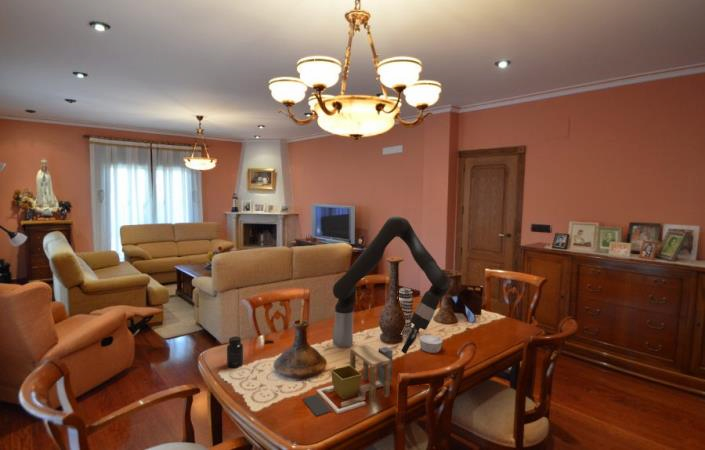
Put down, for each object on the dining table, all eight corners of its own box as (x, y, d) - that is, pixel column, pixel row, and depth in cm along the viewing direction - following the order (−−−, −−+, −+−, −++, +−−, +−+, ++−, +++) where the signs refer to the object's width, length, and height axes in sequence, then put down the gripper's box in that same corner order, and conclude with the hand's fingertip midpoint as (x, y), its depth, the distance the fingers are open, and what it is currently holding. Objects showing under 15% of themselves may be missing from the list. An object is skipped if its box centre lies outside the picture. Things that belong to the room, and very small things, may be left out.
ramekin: (442, 355, 179) (442, 344, 178) (418, 352, 181) (419, 342, 181) (441, 346, 190) (442, 336, 189) (419, 343, 192) (419, 333, 192)
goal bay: (342, 384, 149) (342, 382, 149) (365, 404, 135) (365, 402, 135) (316, 391, 143) (316, 389, 143) (337, 413, 129) (337, 411, 129)
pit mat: (316, 395, 141) (316, 394, 141) (331, 411, 130) (331, 410, 130) (302, 399, 138) (302, 398, 138) (316, 416, 127) (316, 415, 127)
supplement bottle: (226, 362, 166) (226, 336, 164) (242, 360, 168) (242, 334, 167) (227, 369, 159) (227, 342, 158) (243, 367, 162) (243, 340, 160)
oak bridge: (366, 378, 155) (367, 344, 153) (389, 396, 141) (390, 359, 140) (349, 382, 150) (350, 348, 149) (371, 402, 137) (372, 364, 136)
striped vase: (414, 332, 207) (416, 288, 205) (408, 337, 199) (410, 291, 197) (399, 329, 212) (400, 285, 210) (392, 334, 204) (394, 289, 202)
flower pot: (349, 386, 148) (350, 364, 147) (361, 397, 140) (362, 374, 140) (330, 392, 143) (330, 369, 142) (341, 403, 136) (342, 379, 135)
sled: (380, 376, 156) (381, 343, 154) (397, 389, 146) (398, 354, 145) (326, 391, 143) (327, 355, 141) (341, 406, 133) (342, 368, 132)
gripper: (414, 309, 164) (396, 344, 163) (414, 312, 151) (394, 351, 150) (430, 318, 163) (411, 353, 162) (431, 322, 150) (411, 360, 149)
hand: (403, 352), depth 156 cm, fingers closed
